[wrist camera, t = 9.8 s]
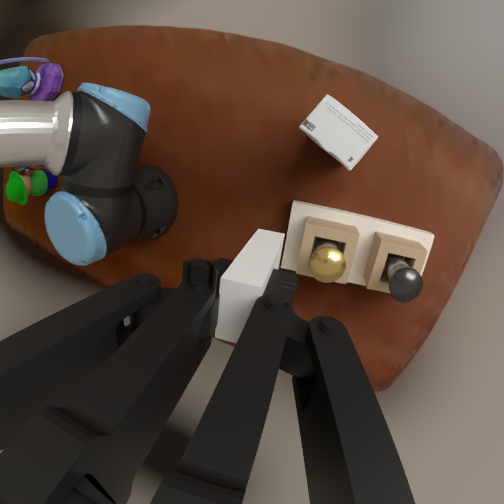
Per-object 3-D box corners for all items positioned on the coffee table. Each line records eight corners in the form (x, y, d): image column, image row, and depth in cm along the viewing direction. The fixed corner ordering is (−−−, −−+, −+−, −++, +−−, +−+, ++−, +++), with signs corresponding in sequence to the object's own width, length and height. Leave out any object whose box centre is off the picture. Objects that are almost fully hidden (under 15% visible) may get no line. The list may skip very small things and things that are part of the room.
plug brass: (308, 255, 50) (305, 278, 41) (314, 227, 48) (313, 244, 39) (337, 261, 49) (340, 286, 40) (344, 233, 47) (350, 252, 38)
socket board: (282, 263, 54) (276, 279, 47) (293, 200, 49) (289, 207, 43) (411, 291, 50) (421, 309, 43) (430, 232, 45) (444, 244, 39)
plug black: (375, 272, 47) (385, 298, 38) (383, 244, 45) (396, 266, 36) (401, 278, 46) (415, 305, 37) (410, 251, 44) (427, 273, 35)
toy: (62, 165, 58) (15, 175, 44) (60, 198, 61) (16, 213, 47) (43, 161, 59) (-1, 170, 45) (41, 192, 62) (0, 205, 49)
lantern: (54, 55, 48) (-36, 47, 20) (73, 69, 49) (-28, 60, 21) (34, 97, 53) (-54, 103, 26) (51, 114, 54) (-46, 123, 26)
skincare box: (364, 141, 43) (383, 137, 29) (342, 167, 45) (352, 174, 32) (326, 108, 43) (329, 90, 29) (303, 134, 45) (297, 127, 31)
